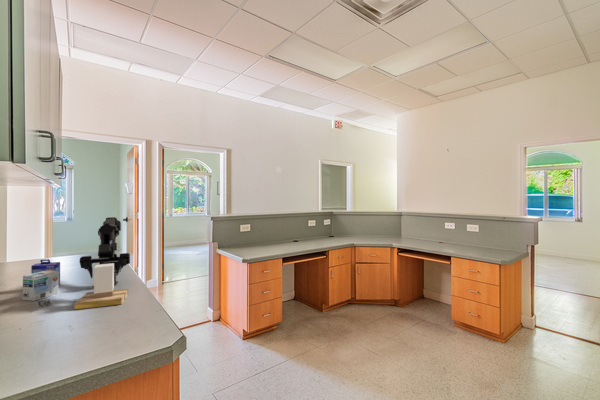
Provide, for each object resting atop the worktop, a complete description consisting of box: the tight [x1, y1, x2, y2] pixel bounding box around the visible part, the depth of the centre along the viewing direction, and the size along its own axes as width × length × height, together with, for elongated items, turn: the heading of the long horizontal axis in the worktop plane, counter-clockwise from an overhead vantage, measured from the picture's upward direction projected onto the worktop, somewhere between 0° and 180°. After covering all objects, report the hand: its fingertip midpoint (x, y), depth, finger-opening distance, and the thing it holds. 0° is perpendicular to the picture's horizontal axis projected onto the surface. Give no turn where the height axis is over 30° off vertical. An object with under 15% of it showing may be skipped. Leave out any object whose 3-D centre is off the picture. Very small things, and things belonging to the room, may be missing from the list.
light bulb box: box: [22, 270, 60, 302], centre depth 127 cm, size 11×7×11 cm, turn 168°
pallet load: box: [93, 263, 115, 299], centre depth 122 cm, size 6×6×13 cm
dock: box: [74, 288, 129, 310], centre depth 122 cm, size 14×16×2 cm
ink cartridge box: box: [30, 259, 61, 287], centre depth 140 cm, size 10×6×14 cm, turn 112°
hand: (104, 276), depth 124 cm, fingers open, 9 cm apart
